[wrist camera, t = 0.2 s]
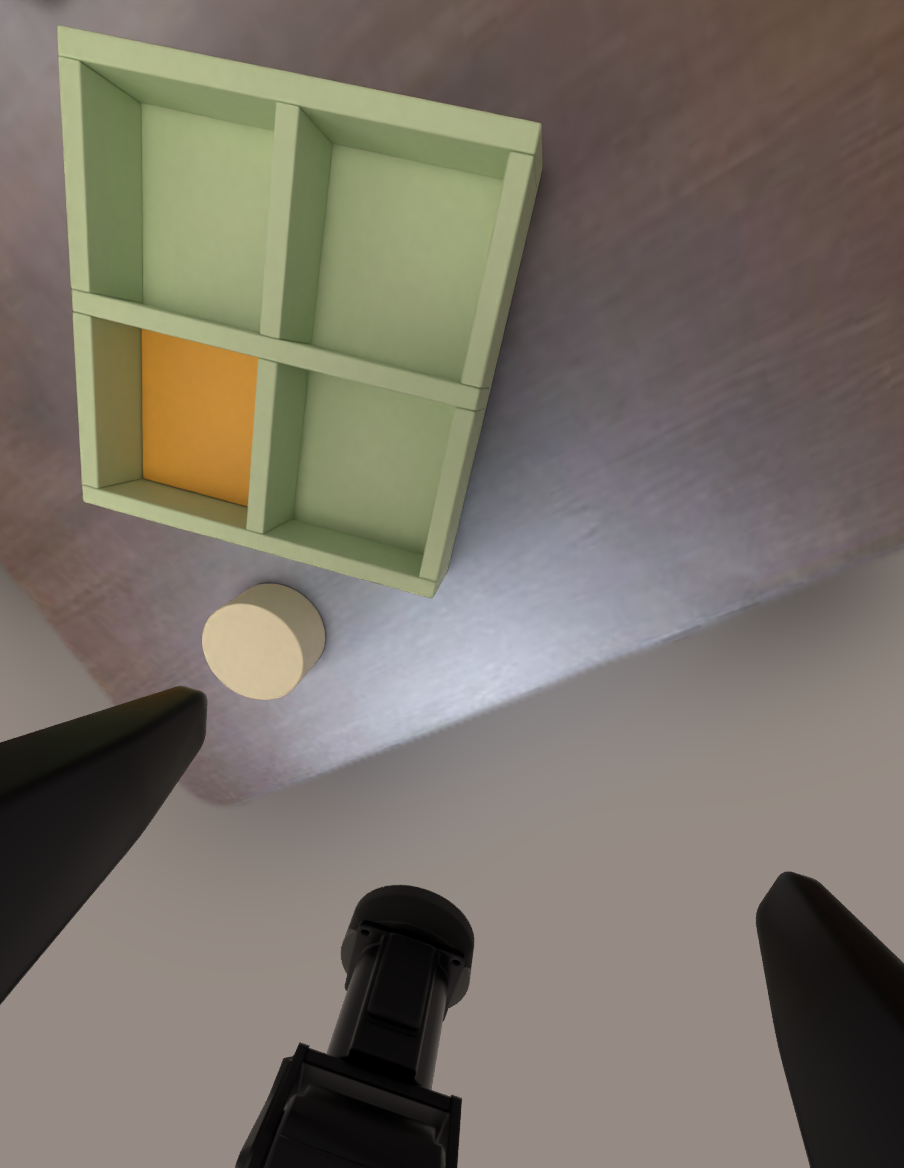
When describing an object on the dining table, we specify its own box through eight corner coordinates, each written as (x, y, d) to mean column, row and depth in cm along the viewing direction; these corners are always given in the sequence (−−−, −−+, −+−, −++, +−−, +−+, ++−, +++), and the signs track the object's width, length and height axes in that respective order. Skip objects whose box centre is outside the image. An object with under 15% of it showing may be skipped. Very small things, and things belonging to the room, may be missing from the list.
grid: (447, 572, 22) (432, 599, 19) (138, 488, 23) (82, 502, 20) (543, 166, 16) (542, 121, 14) (133, 80, 17) (55, 22, 15)
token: (319, 683, 25) (297, 712, 23) (230, 657, 25) (199, 683, 23) (331, 598, 23) (309, 621, 21) (235, 571, 23) (203, 590, 21)
